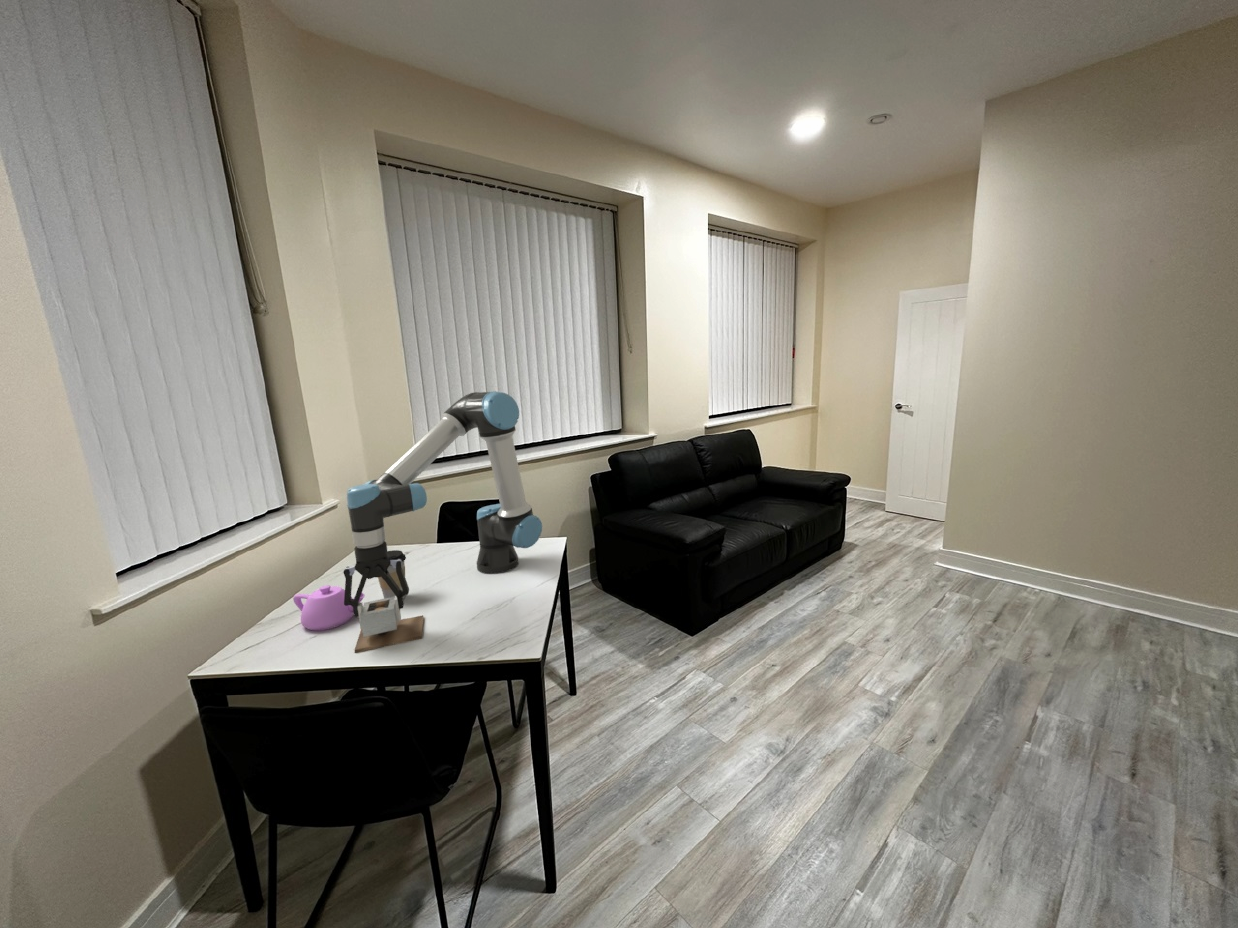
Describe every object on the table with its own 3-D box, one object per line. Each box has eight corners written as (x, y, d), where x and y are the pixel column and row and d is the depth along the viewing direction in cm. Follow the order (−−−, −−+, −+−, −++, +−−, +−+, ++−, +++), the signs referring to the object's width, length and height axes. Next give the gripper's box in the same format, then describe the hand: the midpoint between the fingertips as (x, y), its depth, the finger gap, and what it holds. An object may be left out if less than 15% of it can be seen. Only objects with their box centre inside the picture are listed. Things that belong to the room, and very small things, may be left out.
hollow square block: (399, 615, 130) (396, 596, 129) (396, 629, 123) (393, 608, 122) (367, 622, 127) (364, 602, 126) (363, 636, 120) (359, 615, 119)
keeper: (423, 617, 135) (420, 592, 133) (422, 638, 123) (418, 611, 122) (362, 630, 129) (358, 604, 128) (354, 652, 118) (350, 624, 116)
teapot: (355, 630, 129) (350, 595, 127) (282, 634, 128) (276, 599, 126) (378, 606, 143) (374, 574, 141) (312, 610, 142) (307, 578, 140)
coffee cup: (398, 606, 142) (391, 561, 139) (371, 605, 144) (365, 559, 141) (417, 593, 151) (411, 549, 148) (392, 591, 153) (386, 548, 150)
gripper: (414, 533, 128) (423, 608, 132) (327, 545, 121) (340, 625, 125) (412, 541, 121) (422, 621, 125) (320, 554, 114) (334, 638, 118)
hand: (381, 622), depth 125 cm, fingers closed on hollow square block, 8 cm apart
